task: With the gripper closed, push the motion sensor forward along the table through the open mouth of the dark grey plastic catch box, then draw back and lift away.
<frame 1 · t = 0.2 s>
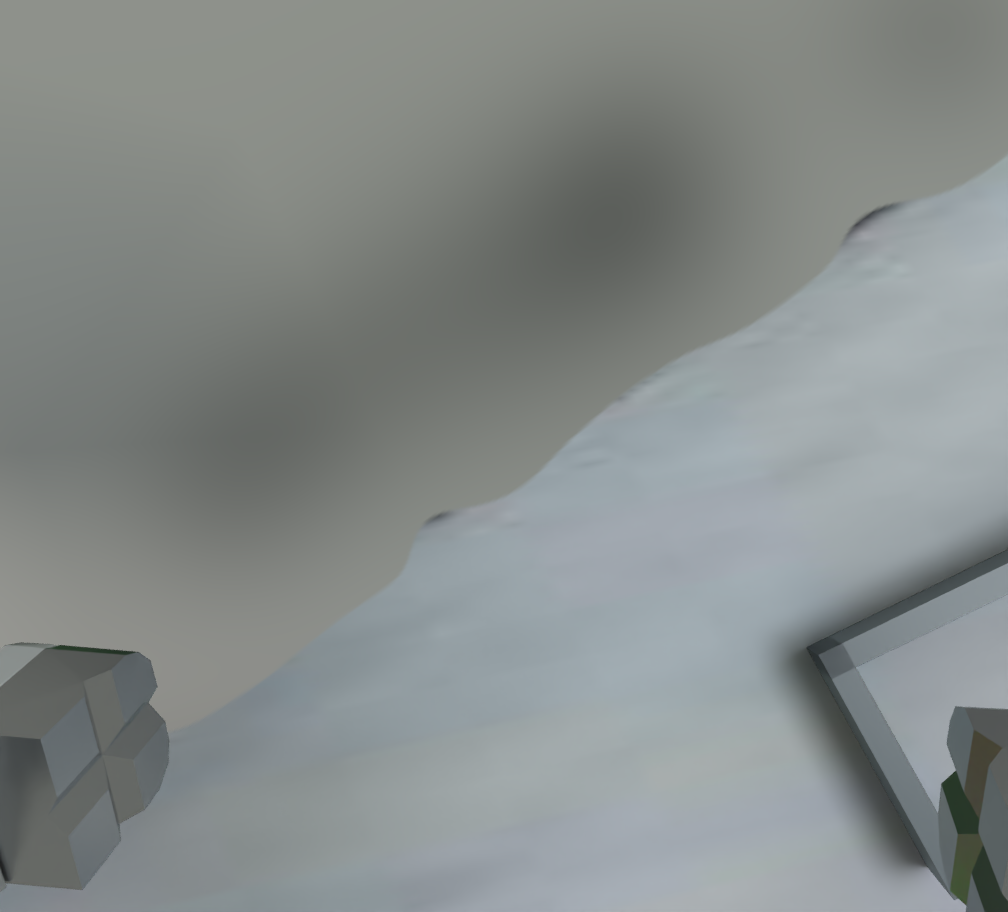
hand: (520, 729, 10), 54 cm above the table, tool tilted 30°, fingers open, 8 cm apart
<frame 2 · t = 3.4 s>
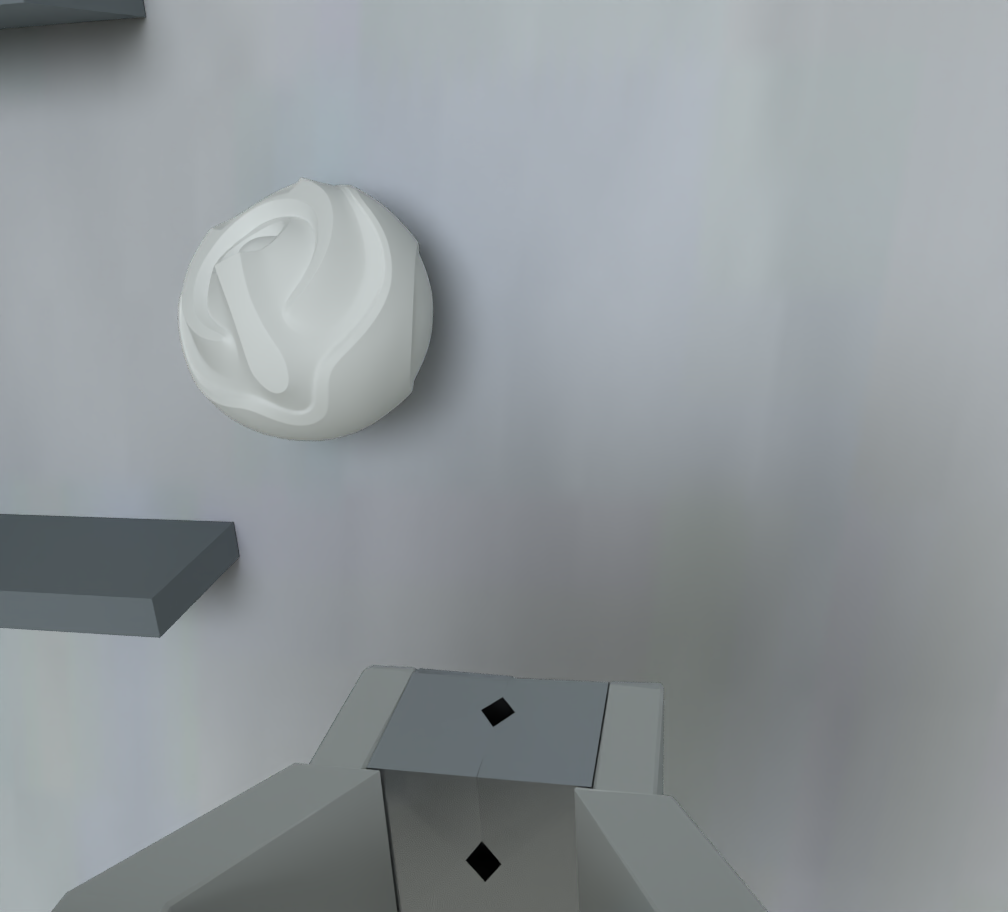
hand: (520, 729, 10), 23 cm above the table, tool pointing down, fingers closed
catch box: (21, 296, 35), on the table
motion sensor: (355, 289, 33), on the table
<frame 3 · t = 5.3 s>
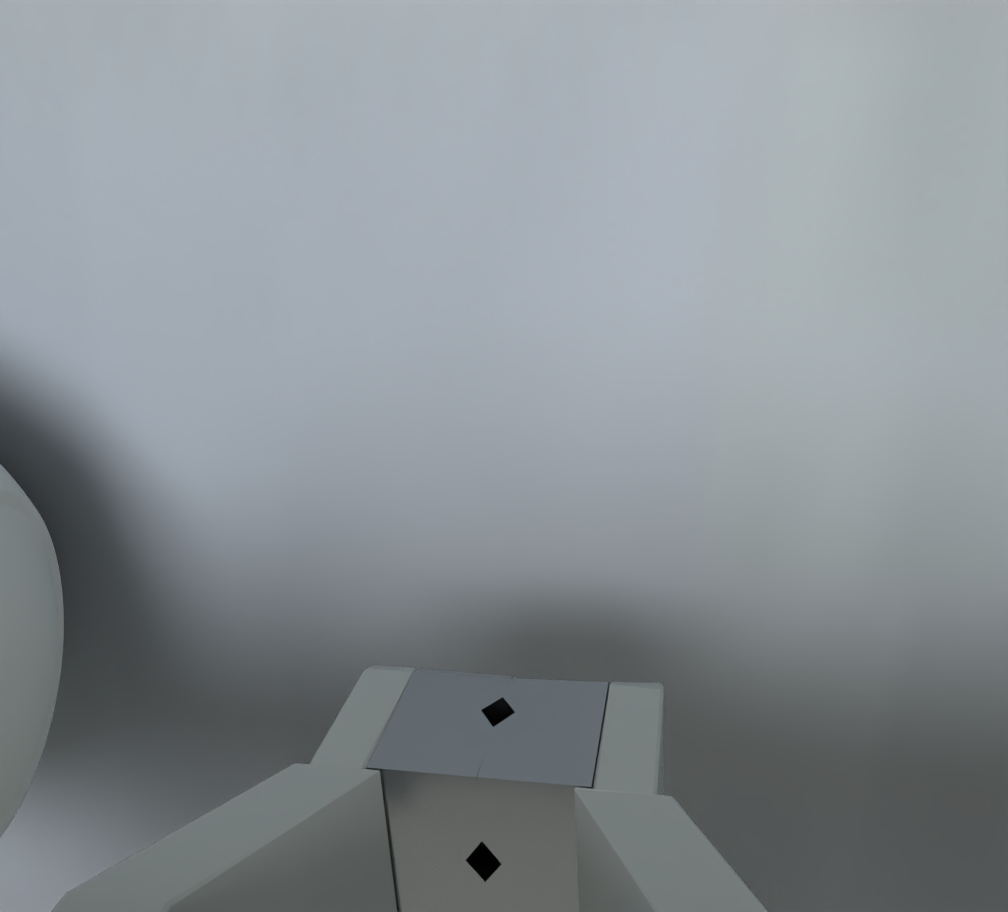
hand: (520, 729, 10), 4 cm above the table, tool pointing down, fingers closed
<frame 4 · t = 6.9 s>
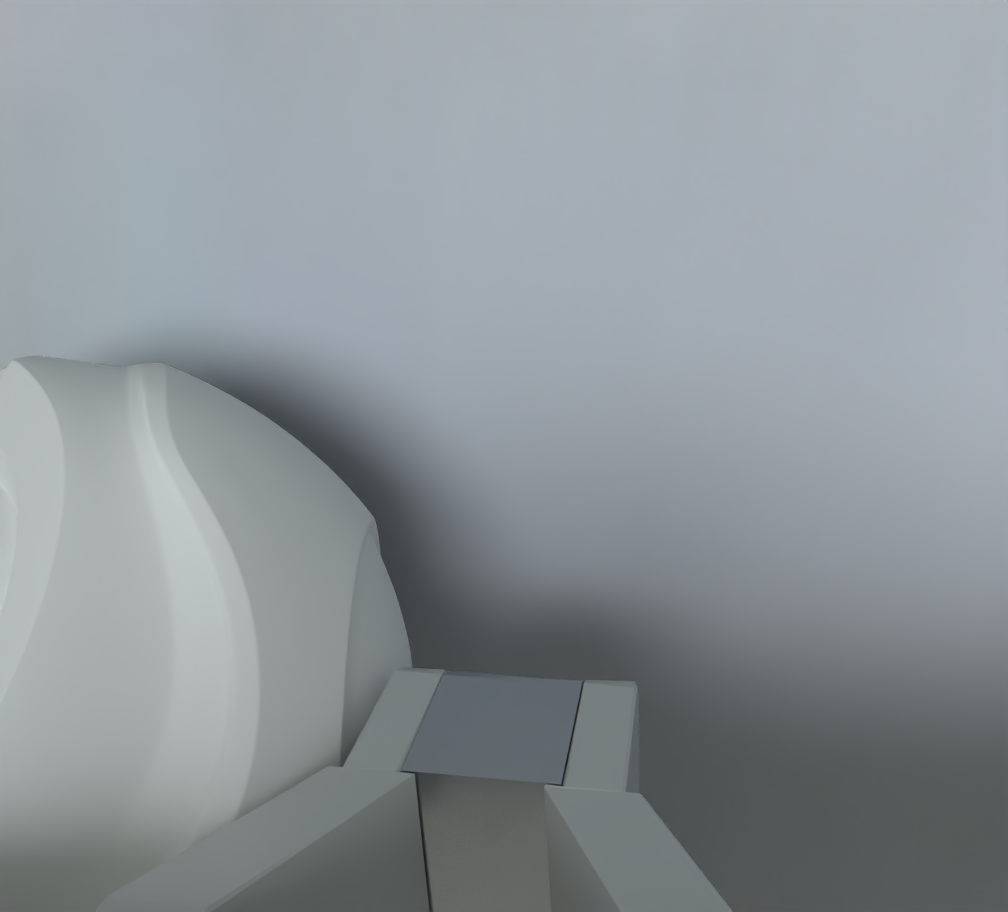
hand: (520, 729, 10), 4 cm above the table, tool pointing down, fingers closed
motion sensor: (243, 556, 14), on the table, touching gripper
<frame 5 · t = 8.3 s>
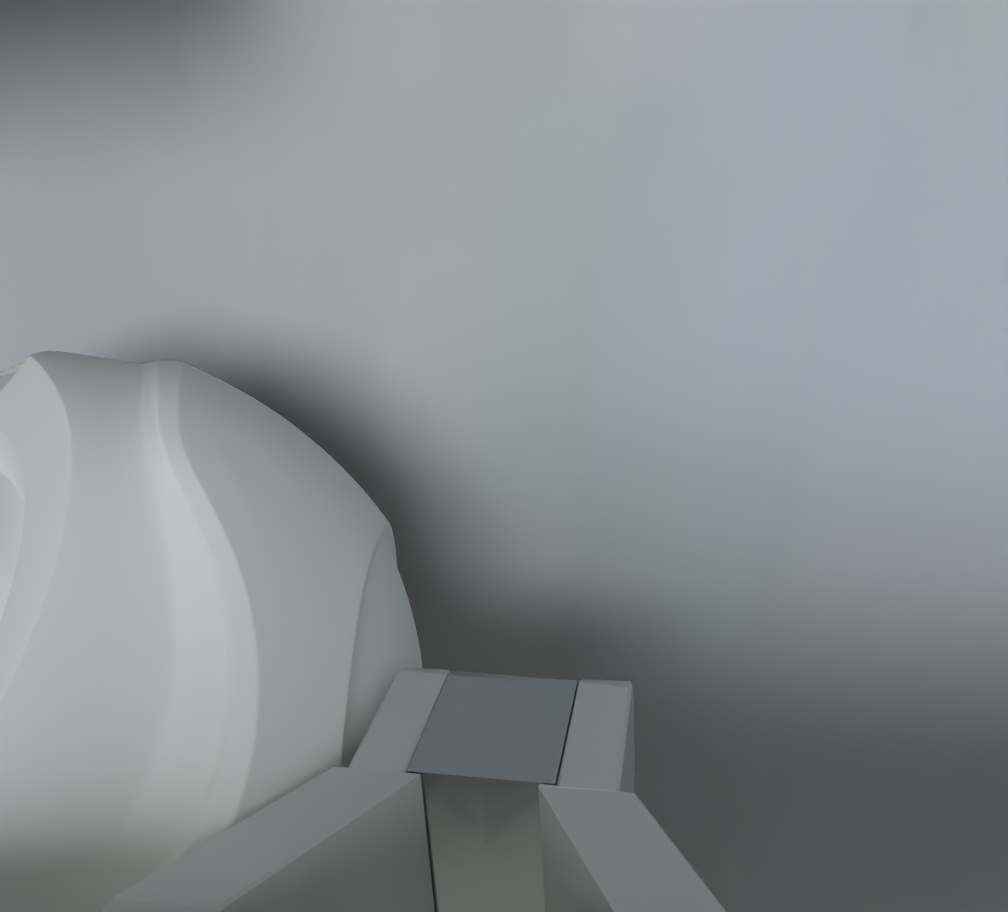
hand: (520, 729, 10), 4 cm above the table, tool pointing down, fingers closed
motion sensor: (262, 553, 14), on the table, touching gripper
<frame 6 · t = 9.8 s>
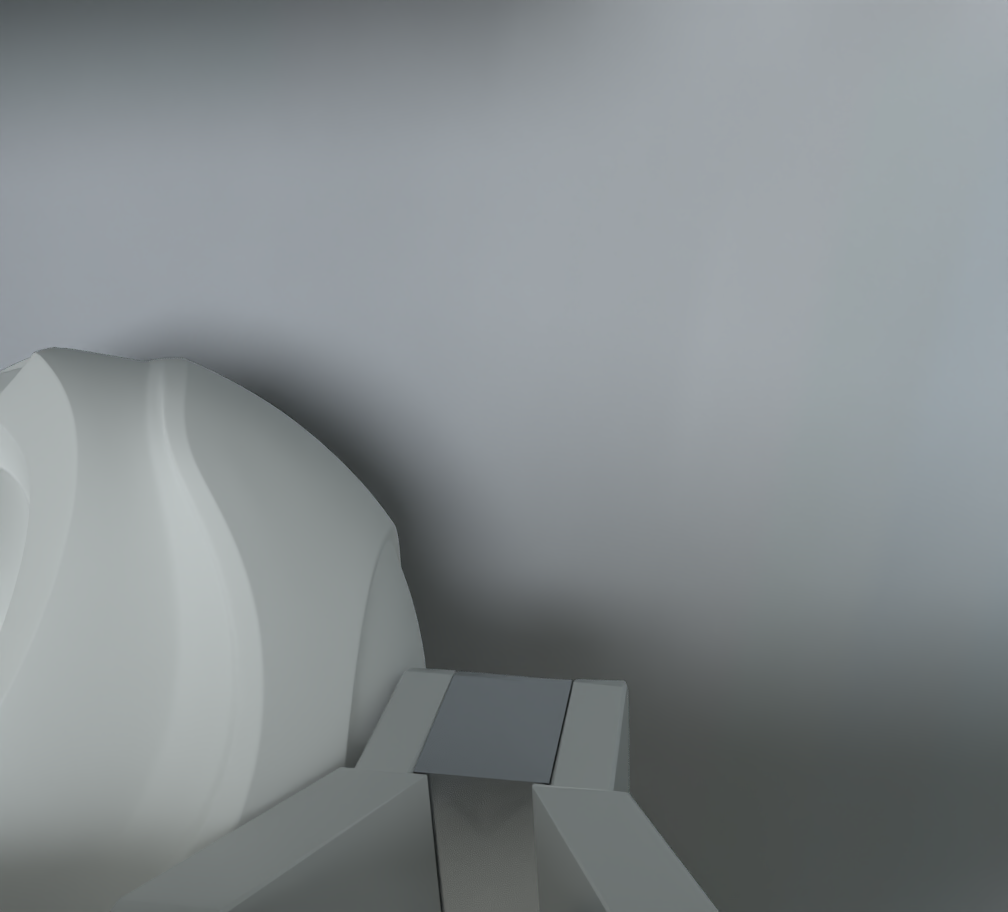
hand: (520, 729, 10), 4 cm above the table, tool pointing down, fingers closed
motion sensor: (265, 551, 14), on the table, touching gripper
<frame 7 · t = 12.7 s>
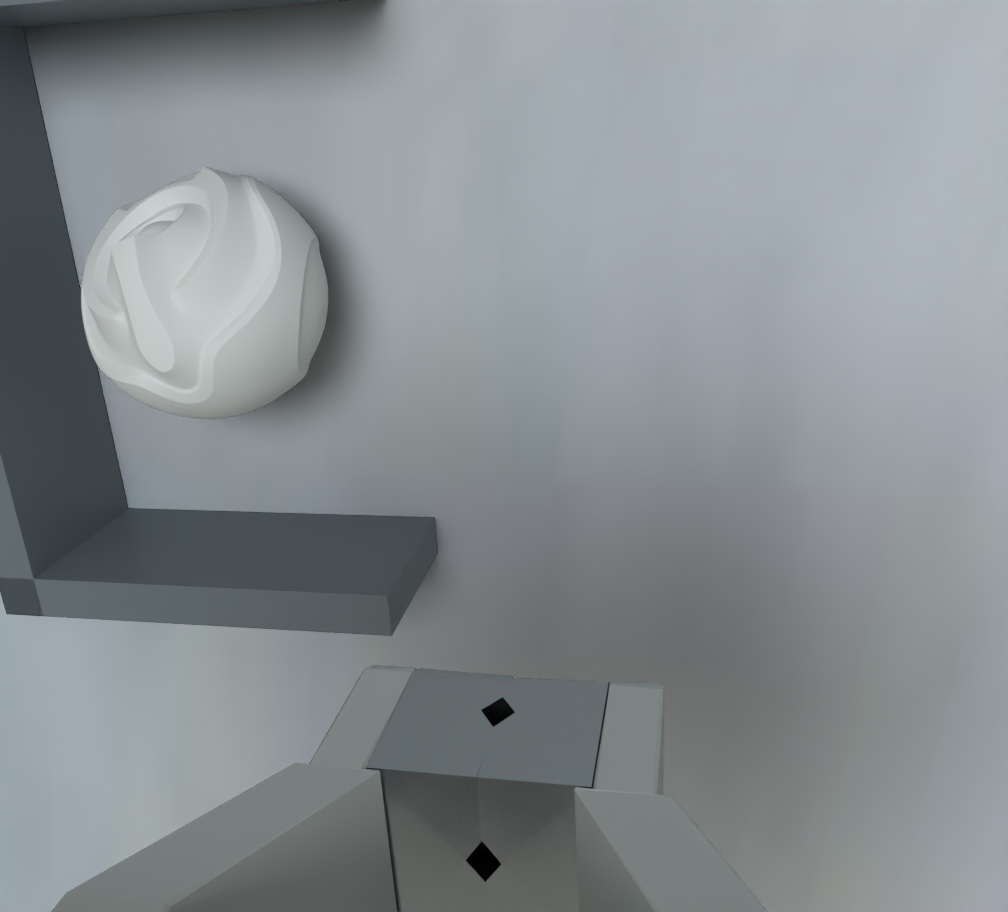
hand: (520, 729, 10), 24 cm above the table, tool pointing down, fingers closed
catch box: (227, 286, 34), on the table
motion sensor: (263, 275, 34), on the table
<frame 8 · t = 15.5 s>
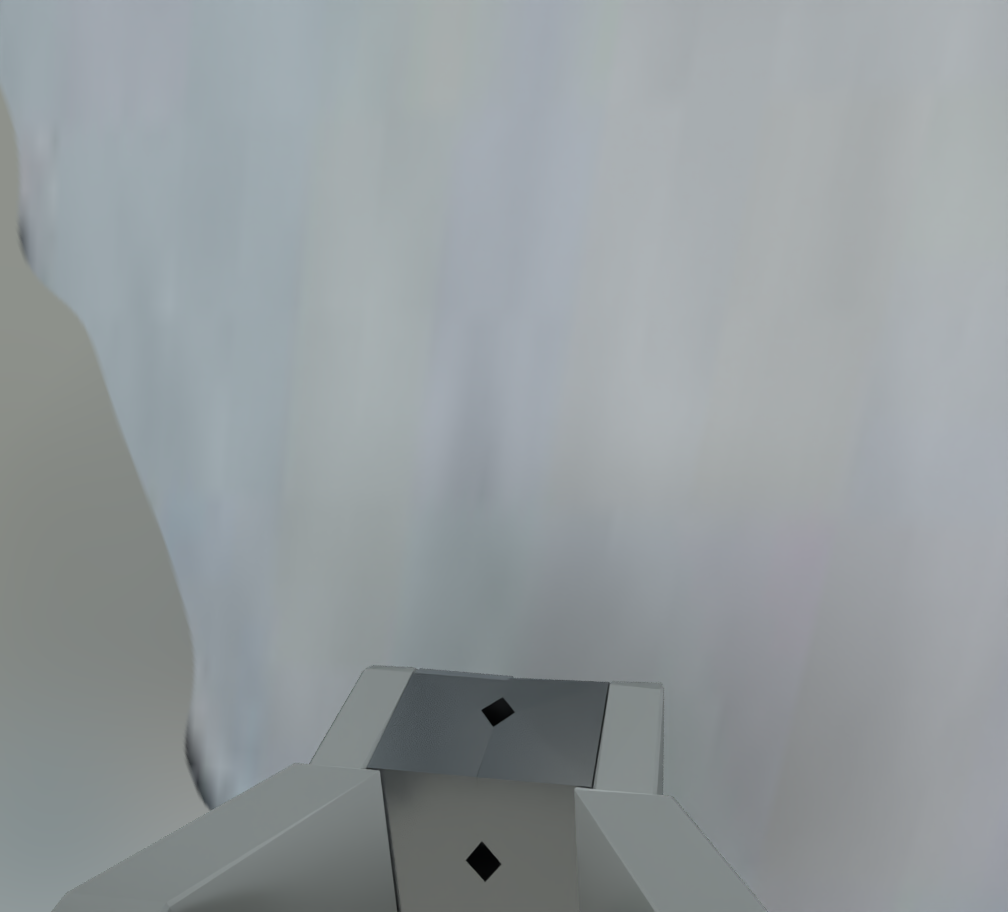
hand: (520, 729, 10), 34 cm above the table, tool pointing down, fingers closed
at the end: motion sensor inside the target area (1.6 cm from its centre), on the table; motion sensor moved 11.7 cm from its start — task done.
